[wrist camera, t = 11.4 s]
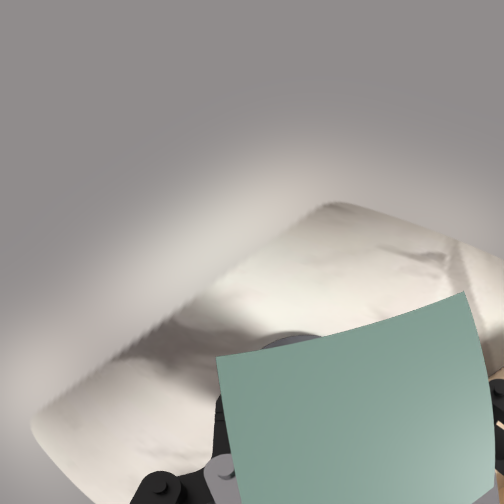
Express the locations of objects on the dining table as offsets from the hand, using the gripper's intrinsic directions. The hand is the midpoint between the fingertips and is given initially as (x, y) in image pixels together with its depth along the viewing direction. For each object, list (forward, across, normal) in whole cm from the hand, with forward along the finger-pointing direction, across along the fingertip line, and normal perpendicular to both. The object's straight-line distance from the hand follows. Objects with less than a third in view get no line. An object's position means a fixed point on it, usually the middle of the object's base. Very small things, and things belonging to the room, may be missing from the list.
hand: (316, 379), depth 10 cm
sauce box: (+2, 0, +5) cm, 6 cm away
